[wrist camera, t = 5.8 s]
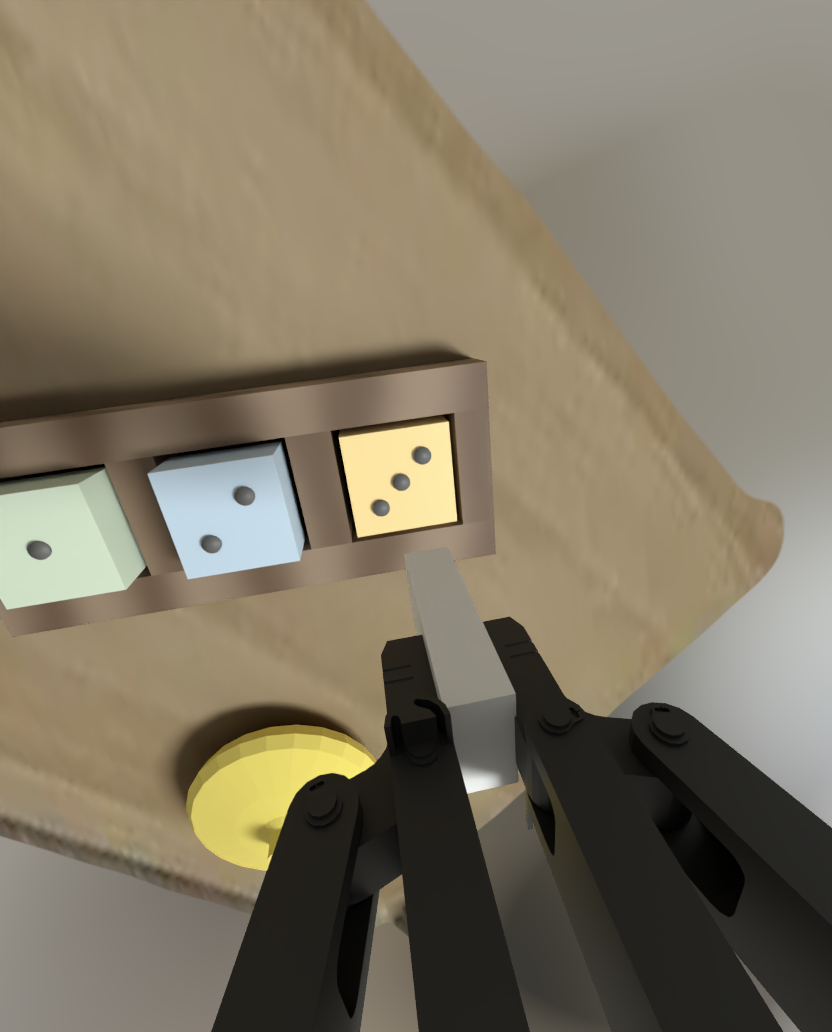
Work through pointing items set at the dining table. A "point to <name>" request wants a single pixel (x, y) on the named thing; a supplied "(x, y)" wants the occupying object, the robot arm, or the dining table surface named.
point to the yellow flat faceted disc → (263, 787)
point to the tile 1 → (64, 539)
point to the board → (316, 468)
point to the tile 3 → (399, 474)
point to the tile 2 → (230, 509)
